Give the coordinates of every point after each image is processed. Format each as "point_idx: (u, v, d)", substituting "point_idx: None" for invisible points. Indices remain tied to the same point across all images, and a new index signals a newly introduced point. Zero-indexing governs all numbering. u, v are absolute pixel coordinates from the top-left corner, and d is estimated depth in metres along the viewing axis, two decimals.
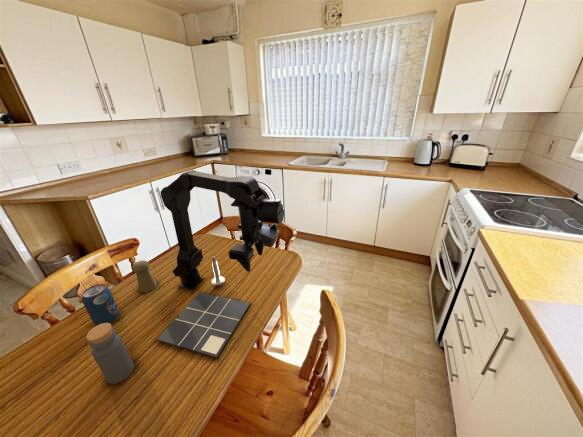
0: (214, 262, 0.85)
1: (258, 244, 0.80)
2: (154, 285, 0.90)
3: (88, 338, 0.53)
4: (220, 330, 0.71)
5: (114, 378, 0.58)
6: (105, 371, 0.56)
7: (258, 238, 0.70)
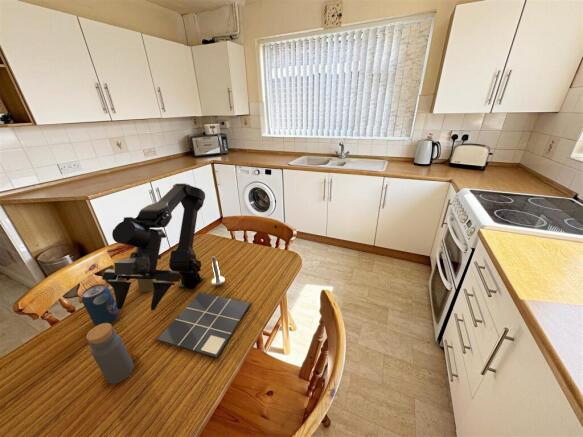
0: (214, 262, 0.85)
1: None
2: None
3: (88, 338, 0.53)
4: (220, 330, 0.71)
5: (114, 378, 0.58)
6: (105, 371, 0.56)
7: None
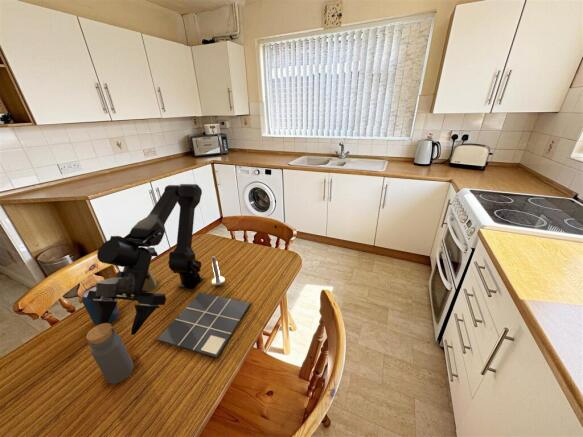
0: (214, 262, 0.85)
1: None
2: (154, 285, 0.90)
3: (88, 338, 0.53)
4: (220, 330, 0.71)
5: (114, 378, 0.58)
6: (105, 371, 0.56)
7: None
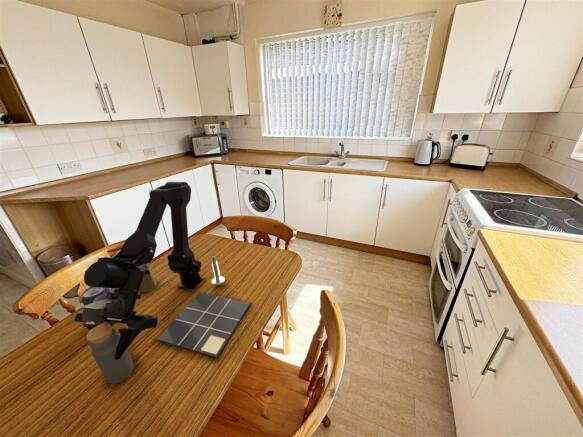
0: (214, 262, 0.85)
1: None
2: (154, 285, 0.90)
3: (88, 338, 0.53)
4: (220, 330, 0.71)
5: (114, 378, 0.58)
6: (105, 371, 0.56)
7: None
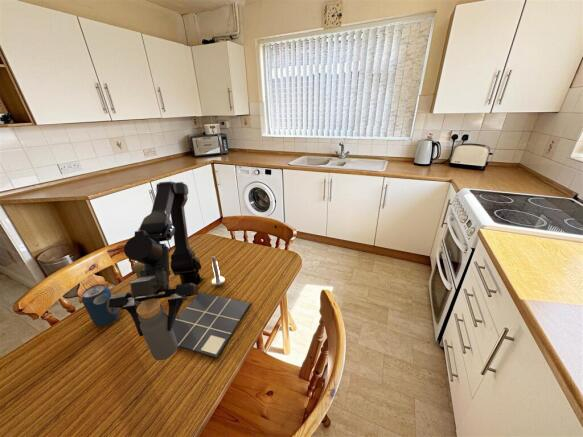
0: (214, 262, 0.85)
1: None
2: None
3: (142, 313, 0.52)
4: (220, 330, 0.71)
5: (166, 353, 0.57)
6: (158, 346, 0.55)
7: None
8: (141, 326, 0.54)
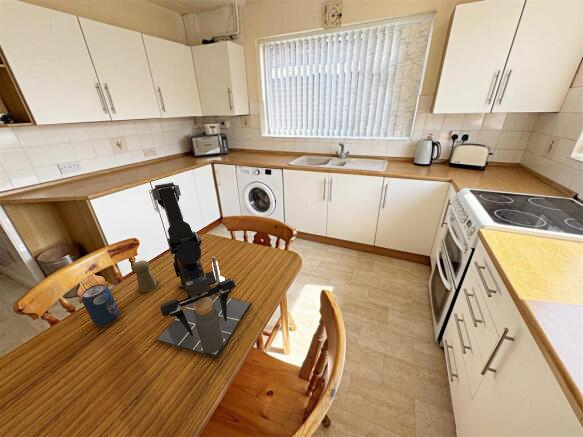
0: (214, 262, 0.85)
1: (221, 305, 0.66)
2: (154, 285, 0.90)
3: (202, 310, 0.59)
4: None
5: (219, 344, 0.65)
6: (214, 338, 0.62)
7: (186, 289, 0.61)
8: (199, 323, 0.60)
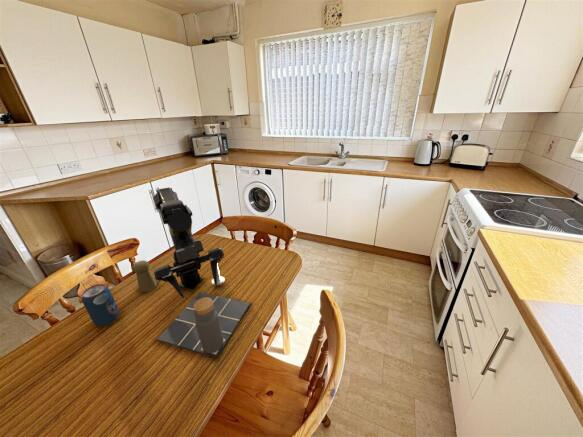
0: None
1: (212, 272, 0.71)
2: (154, 285, 0.90)
3: (202, 310, 0.59)
4: None
5: (219, 344, 0.65)
6: (214, 338, 0.62)
7: (177, 256, 0.66)
8: (199, 323, 0.60)
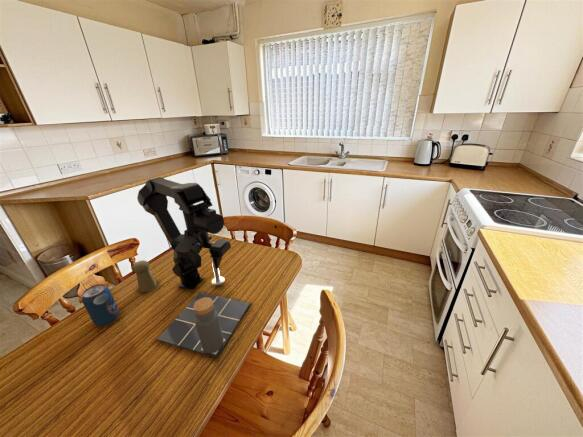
0: None
1: None
2: (154, 285, 0.90)
3: (202, 310, 0.59)
4: None
5: (219, 344, 0.65)
6: (214, 338, 0.62)
7: None
8: (199, 323, 0.60)
